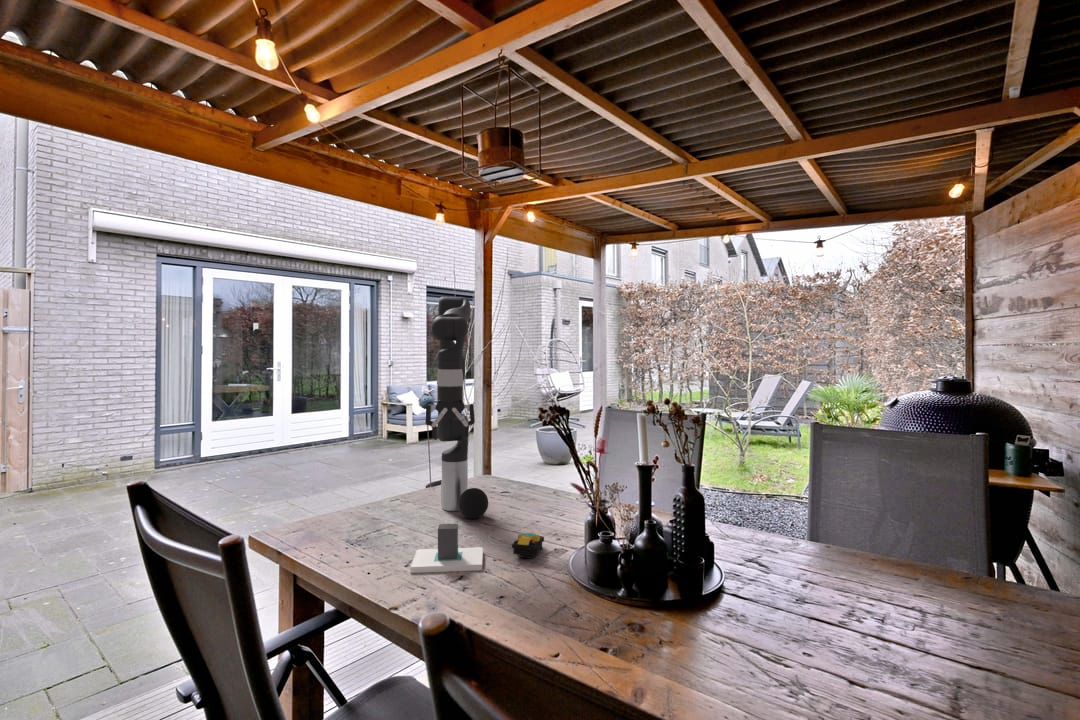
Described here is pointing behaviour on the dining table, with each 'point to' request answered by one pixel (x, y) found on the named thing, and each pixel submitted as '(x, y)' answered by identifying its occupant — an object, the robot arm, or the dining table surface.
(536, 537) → the black bowl with blocks
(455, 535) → the block
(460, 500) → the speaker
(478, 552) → the board
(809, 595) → the dining table surface
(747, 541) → the dining table surface
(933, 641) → the dining table surface
